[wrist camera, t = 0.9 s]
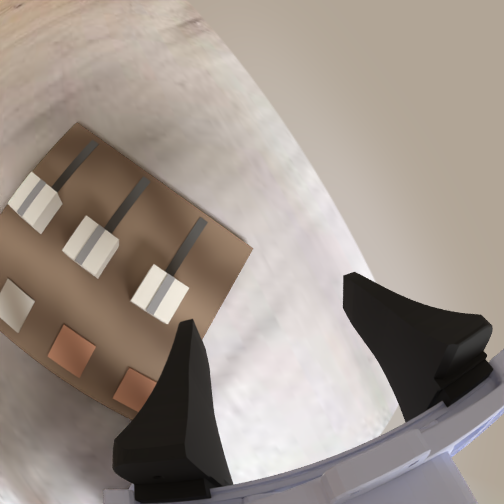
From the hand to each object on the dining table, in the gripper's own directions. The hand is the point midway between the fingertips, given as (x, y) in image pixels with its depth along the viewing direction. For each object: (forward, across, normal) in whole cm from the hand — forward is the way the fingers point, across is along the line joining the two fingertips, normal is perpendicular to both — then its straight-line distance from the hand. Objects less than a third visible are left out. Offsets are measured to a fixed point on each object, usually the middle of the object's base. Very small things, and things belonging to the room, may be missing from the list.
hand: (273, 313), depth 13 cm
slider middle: (+10, +11, -1) cm, 15 cm away
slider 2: (+9, +7, +3) cm, 12 cm away
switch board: (+10, +12, +1) cm, 15 cm away
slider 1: (+11, +15, -6) cm, 20 cm away
